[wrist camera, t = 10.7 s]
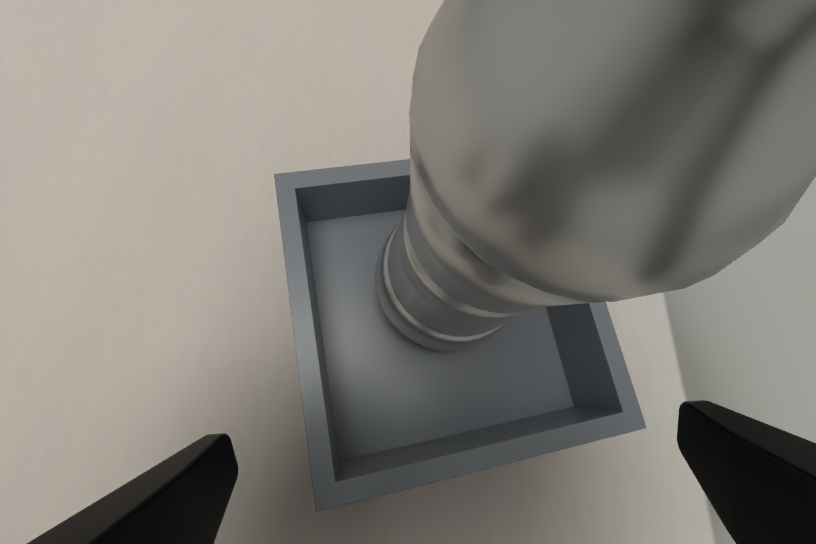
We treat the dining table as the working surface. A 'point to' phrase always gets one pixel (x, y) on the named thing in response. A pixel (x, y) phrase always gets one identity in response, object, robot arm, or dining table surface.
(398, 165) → the tote
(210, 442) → the robot arm
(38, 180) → the dining table surface
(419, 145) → the plastic bottle
